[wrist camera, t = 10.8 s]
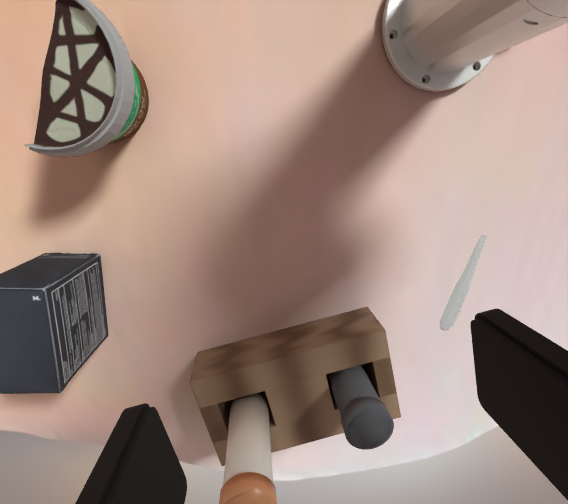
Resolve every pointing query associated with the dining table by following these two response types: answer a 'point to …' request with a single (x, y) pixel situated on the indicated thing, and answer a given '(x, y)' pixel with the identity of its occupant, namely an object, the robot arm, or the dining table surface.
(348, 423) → the black plug
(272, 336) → the block
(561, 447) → the robot arm
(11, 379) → the small box
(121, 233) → the dining table surface
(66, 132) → the food container
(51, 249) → the dining table surface
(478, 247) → the butter knife
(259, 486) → the orange-brown and white plug
